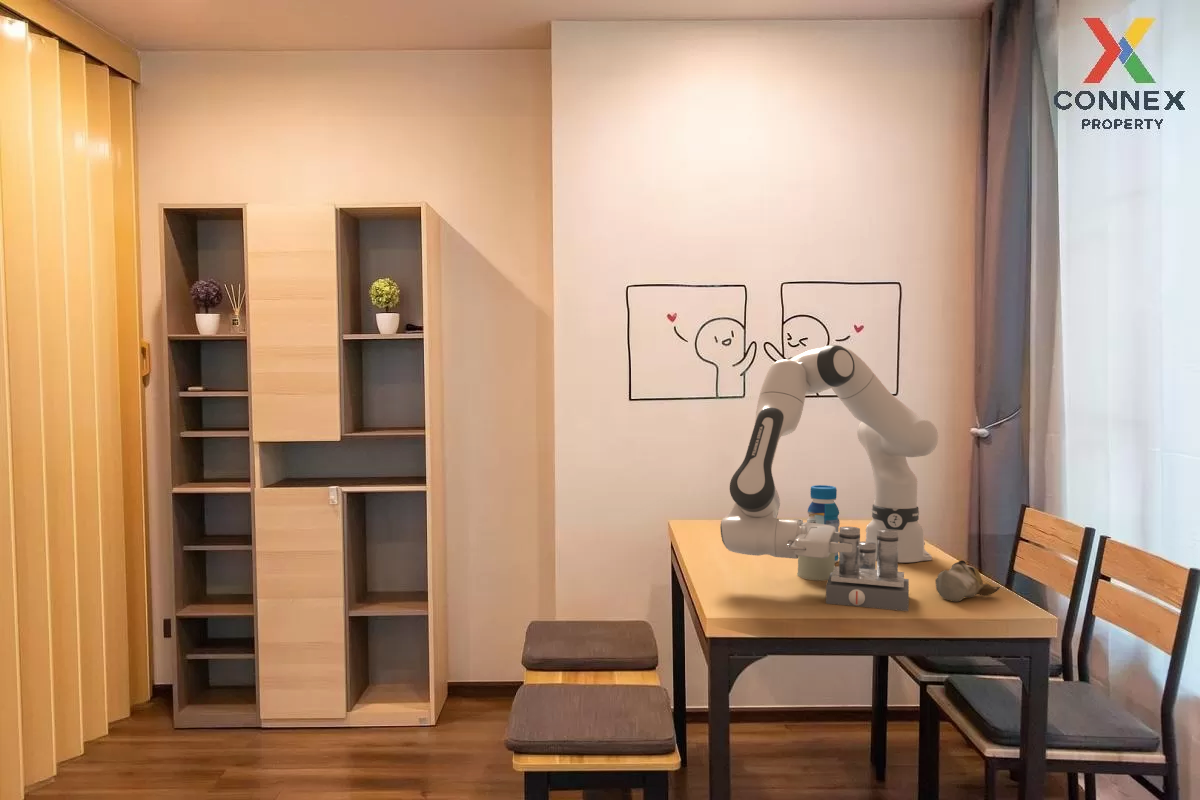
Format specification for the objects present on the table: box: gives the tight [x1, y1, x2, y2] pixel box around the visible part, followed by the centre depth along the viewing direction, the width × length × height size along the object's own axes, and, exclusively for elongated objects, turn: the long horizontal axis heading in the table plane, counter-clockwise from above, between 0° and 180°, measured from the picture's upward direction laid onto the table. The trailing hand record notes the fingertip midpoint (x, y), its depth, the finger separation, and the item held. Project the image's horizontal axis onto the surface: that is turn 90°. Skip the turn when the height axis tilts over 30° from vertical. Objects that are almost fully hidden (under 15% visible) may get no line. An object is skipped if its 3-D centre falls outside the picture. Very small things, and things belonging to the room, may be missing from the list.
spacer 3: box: [876, 529, 899, 578], centre depth 182 cm, size 4×4×10 cm
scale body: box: [825, 573, 910, 612], centre depth 183 cm, size 12×17×4 cm
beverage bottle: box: [806, 484, 841, 564], centre depth 220 cm, size 8×8×20 cm
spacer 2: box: [860, 540, 877, 570], centre depth 196 cm, size 4×4×10 cm
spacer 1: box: [838, 526, 861, 575], centre depth 184 cm, size 4×4×10 cm
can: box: [796, 553, 836, 581], centre depth 204 cm, size 9×9×12 cm
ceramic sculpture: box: [935, 560, 1001, 602], centre depth 186 cm, size 11×9×15 cm
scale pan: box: [831, 566, 905, 587], centre depth 183 cm, size 10×15×1 cm, turn 70°
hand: (853, 543), depth 184 cm, fingers open, 8 cm apart
